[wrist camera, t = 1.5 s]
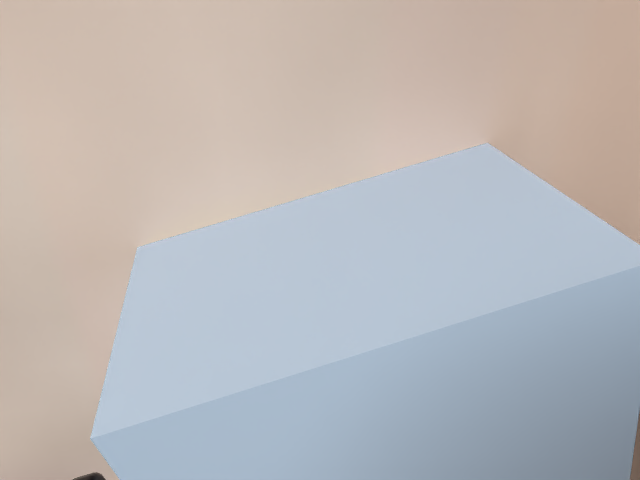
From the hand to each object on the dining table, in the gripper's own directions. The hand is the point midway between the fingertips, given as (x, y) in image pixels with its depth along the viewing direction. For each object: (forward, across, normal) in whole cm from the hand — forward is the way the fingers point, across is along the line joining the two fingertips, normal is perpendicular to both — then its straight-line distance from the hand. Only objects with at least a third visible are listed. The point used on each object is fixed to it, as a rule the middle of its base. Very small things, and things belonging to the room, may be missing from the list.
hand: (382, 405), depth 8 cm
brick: (+2, 0, 0) cm, 2 cm away
